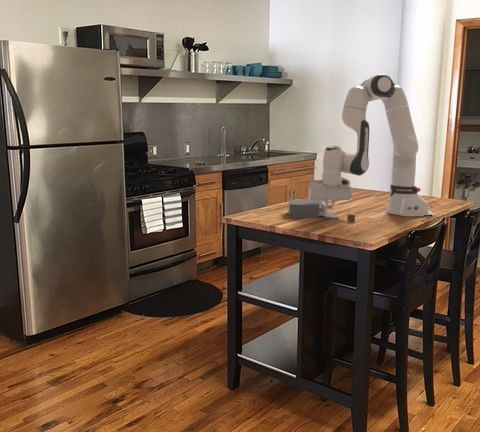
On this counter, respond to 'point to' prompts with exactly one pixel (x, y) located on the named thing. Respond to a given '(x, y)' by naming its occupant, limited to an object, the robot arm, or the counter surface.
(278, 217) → the counter surface
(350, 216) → the pedestal
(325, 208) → the white bracket
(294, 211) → the housing
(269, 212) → the counter surface
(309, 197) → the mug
